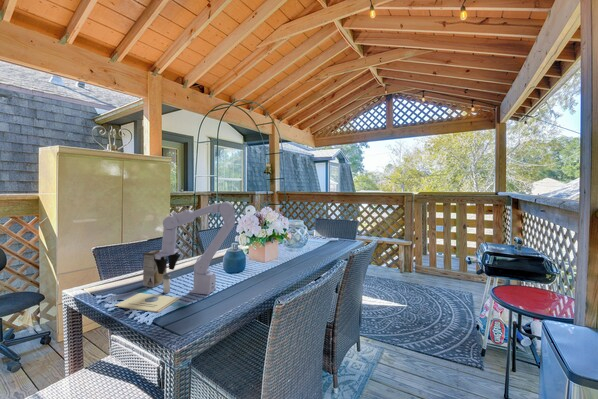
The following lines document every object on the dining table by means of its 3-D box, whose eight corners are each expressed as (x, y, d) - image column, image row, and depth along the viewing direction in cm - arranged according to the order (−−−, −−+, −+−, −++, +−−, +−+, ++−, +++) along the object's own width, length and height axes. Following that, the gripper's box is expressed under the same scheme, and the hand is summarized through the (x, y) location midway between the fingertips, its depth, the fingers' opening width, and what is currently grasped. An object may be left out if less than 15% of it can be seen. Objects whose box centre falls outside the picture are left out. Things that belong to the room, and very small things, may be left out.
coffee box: (155, 280, 147) (156, 249, 146) (166, 281, 146) (167, 250, 145) (142, 286, 138) (142, 253, 137) (154, 287, 137) (154, 254, 136)
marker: (171, 291, 133) (171, 274, 133) (167, 293, 130) (167, 276, 130) (165, 290, 133) (166, 273, 133) (161, 293, 131) (161, 275, 130)
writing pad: (180, 298, 125) (180, 297, 125) (158, 312, 111) (158, 311, 111) (139, 293, 129) (139, 292, 129) (114, 306, 115) (114, 305, 115)
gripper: (171, 238, 139) (168, 266, 139) (150, 243, 125) (147, 274, 125) (184, 240, 138) (181, 268, 138) (164, 245, 123) (161, 276, 124)
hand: (166, 271), depth 131 cm, fingers open, 7 cm apart
